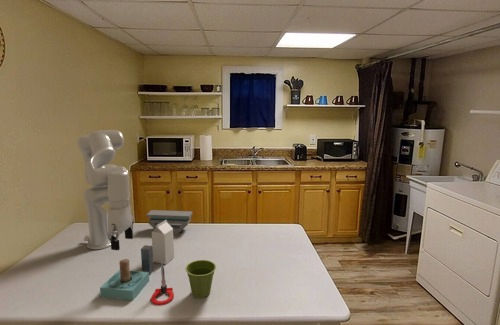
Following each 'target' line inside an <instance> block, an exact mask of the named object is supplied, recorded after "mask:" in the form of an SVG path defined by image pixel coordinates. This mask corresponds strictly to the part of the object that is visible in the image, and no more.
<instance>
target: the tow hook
mask: <svg viewBox="0 0 500 325" xmlns="http://www.w3.org/2000/svg"><path fill="white" fill-rule="evenodd" d="M160 264H161V265H160V266H161V267H160V272H161V274H160V275H161V283H160V284H161V286H160V288H155V291H154V293H153V294H151V298H150V299H151V303H152V304H153V305H156V306H164V305H167V304H169V303H170V302H171V301H173V300H174V297H175V296H174V292H173V287H168V286H167V283H166V275H165V267H164V264H163V262H162V263H160ZM161 293H165V294H167V295H169V297H168V298H167V299H165V300H158V299H156V298H157V296H159V295H161Z"/></svg>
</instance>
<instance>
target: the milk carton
mask: <svg viewBox="0 0 500 325" xmlns="http://www.w3.org/2000/svg"><path fill="white" fill-rule="evenodd" d="M151 246H152V247H153V263H159V264H161V263H162V262H163V265H167V264H168V263H169V262H171V260H173V259H174V258H175V248H174V233H173V228H172V227H171V226H170V225H169V224H168V223H167V220H165V221H163V222H162V223H160V224H158V225H157V226H156V229H153V230H152V231H151Z"/></svg>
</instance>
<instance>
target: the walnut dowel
mask: <svg viewBox="0 0 500 325" xmlns="http://www.w3.org/2000/svg"><path fill="white" fill-rule="evenodd" d="M118 264H119V270H120V277H121V283H128V282H130V281H131V280H130V271H131V267H130V259H128V258H123V259H121V260H119V263H118Z"/></svg>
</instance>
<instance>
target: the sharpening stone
mask: <svg viewBox="0 0 500 325" xmlns="http://www.w3.org/2000/svg"><path fill="white" fill-rule="evenodd" d="M192 216H193V211H191V210H190V211H189V210H188V211H185V210H183V211H182V210H161V209H160V210H159V209H158V210H157V209H156V210H155V209H151V210H150V211H149V212H148V213H146V218H149V219H148V224H149V226H150V227H152V228H153V230H155V229H156V226H157V225H158V224H160V223H162V222H163V221H165V220H167V223H168V224H169V225H170V226H171V227H172V228H173V234H176V235H177V234H180V233H181V232H182V230H183V229H186V227H187V226H188V225H189V223H190V222H191V220H192Z"/></svg>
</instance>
